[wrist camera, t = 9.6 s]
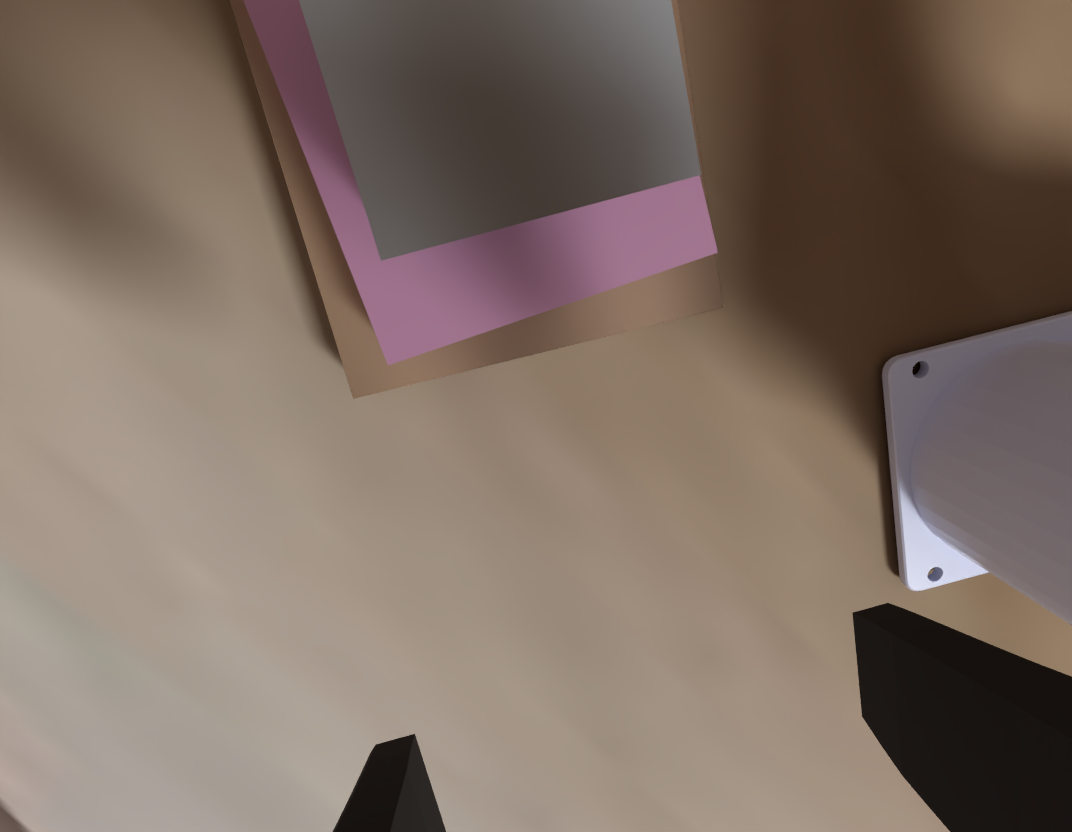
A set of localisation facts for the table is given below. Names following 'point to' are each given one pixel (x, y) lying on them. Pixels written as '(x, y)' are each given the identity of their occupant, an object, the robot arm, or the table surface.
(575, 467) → the table surface
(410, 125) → the slate cube
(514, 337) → the walnut base block
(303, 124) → the plum top block
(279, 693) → the table surface
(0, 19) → the table surface
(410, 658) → the table surface
